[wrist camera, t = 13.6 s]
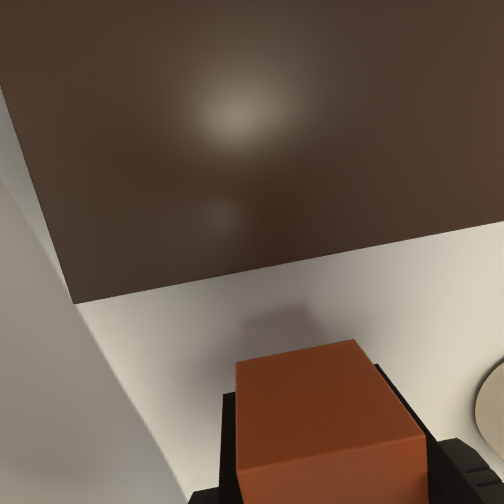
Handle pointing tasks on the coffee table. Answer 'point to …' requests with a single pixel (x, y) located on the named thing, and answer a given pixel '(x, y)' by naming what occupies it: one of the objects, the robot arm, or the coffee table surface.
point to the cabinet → (251, 129)
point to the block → (325, 431)
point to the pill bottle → (492, 410)
